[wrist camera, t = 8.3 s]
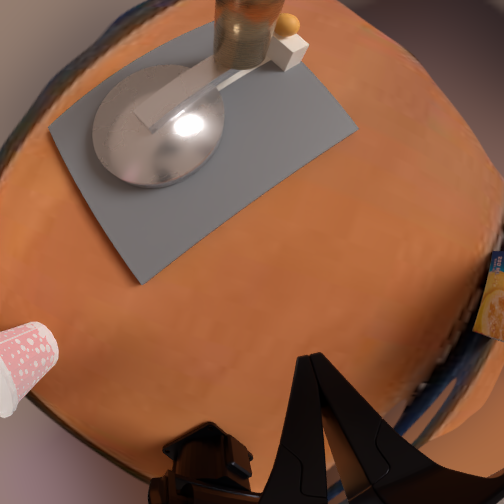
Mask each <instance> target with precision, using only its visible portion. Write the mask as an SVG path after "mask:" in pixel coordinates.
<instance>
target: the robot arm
mask: <svg viewBox="0 0 504 504" xmlns="http://www.w3.org/2000/svg"><path fill="white" fill-rule="evenodd" d="M209 427H213V428H209ZM323 428H324V431H325V434H326V437H327V440H328V443H329V446H330V449H331V452H332V455H333V458H334V461H335V464H336V466H337V470H338V473H339V475H340V479H341V482H342V485H343V488H344V491H345V494H346V497H347V500H349V501H348V503H349V504H504V468H503V469H502V470H500V471H498V472H496V473H494V474H493V475H491V476H489V477H487V478H484V477H480V476H475V475H471V474H466V473H463V472H459V471H455V470H451V469H448V468H445V467H443V466H440V465H438V464H437V463H435V462H434V461H432V460H431V459H429V458H428V457H427V456H425V455H424V454H423V453H421V452H420V451H419V450H418V449H416V448H415V447H414V446H412V445H411V444H410V443H408V442H407V441H406V440H405V439H404V438H403V437H401V436H400V435H399V434H398V433H397V432H396V431H395V430H394V429H393V428H392V427H391V426H390V425H389V424H387V422H386V421H385V420H384V419H382V417H381V416H380V415H379V414H378V413H377V412H376V411H375V410H374V409H373V407H372V406H371V405H370V404H369V403H368V402H367V401H366V400H365V399H364V398H363V397H362V396H361V395H360V394H359V393H358V391H357V390H356V389H355V388H354V387H353V386H352V385H351V384H350V383H349V382H348V381H347V380H346V379H345V378H344V376H343V375H342V374H341V373H340V372H339V371H338V370H337V369H336V368H335V367H334V366H333V365H332V363H331V362H330V361H329V360H328V359H327V358H326V357H325V356H324V355H323V354H322V353H321V352H318V353H313V354H310V355H304V356H299V357H297V360H296V366H295V372H294V377H293V382H292V387H291V393H290V398H289V402H288V407H287V412H286V417H285V421H284V426H283V430H282V435H281V439H280V444H279V447H278V451H277V455H276V459H275V462H274V465H273V469H272V471H271V474H270V476H269V479H268V481H267V483H266V486H265V488H264V490H263V492H262V493H256V492H251V488H250V483H249V478H250V477H252V471H251V466H250V461H252V460H253V455H252V454H251V453H250V452H249V451H247V448H246V447H245V446H244V445H242V444H241V443H240V442H239V441H238V440H236V439H235V438H234V437H233V436H231V435H229V434H226V433H225V432H224V431H223V430H222V429H220V428H219V427H218V426H217V425H216V424H215V423H213V422H208V423H206V424H204V425H203V426H201V427H199V428H197V429H196V430H194V431H192V432H190V433H188V434H187V435H185V436H183V437H181V438H179V439H177V440H175V441H173V442H171V443H169V444H168V445H166V446H164V447H163V450H162V451H163V453H164V454H165V455H167V456H168V457H169V458H171V459H172V460H173V468H172V471H170V470H167V471H166V473H165V475H164V476H163V477H160V478H152V479H151V481H150V486H149V491H148V504H328V500H327V481H326V480H327V479H326V463H325V449H324V436H323ZM167 450H169V451H167Z"/></svg>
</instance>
